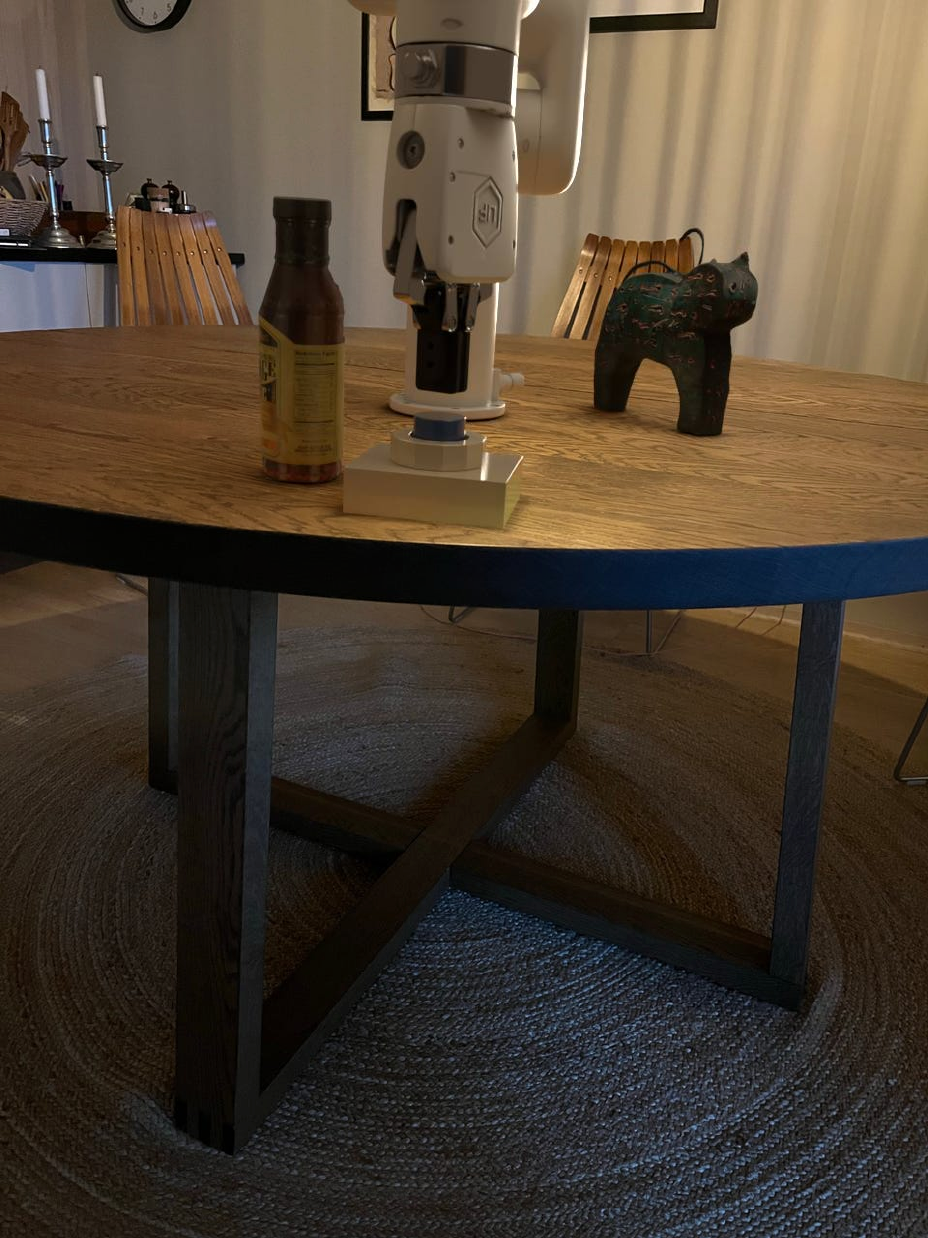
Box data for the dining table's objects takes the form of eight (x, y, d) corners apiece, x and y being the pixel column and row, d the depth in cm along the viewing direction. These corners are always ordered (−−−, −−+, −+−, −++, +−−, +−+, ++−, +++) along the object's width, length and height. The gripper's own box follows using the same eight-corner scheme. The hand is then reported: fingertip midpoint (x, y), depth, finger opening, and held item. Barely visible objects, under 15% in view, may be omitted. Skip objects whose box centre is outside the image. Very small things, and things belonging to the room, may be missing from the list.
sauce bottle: (265, 466, 79) (260, 195, 72) (344, 469, 80) (347, 200, 73) (256, 486, 73) (250, 192, 66) (342, 488, 74) (345, 198, 67)
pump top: (419, 434, 71) (420, 409, 71) (468, 438, 71) (470, 413, 70) (407, 443, 68) (408, 417, 67) (459, 447, 67) (460, 422, 67)
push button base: (377, 483, 76) (378, 418, 74) (520, 498, 74) (525, 431, 72) (342, 513, 68) (343, 439, 66) (503, 529, 66) (508, 455, 64)
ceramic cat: (741, 437, 104) (773, 231, 96) (695, 440, 100) (725, 227, 93) (617, 405, 119) (637, 226, 112) (575, 407, 116) (592, 222, 109)
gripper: (444, 65, 54) (429, 409, 60) (561, 105, 66) (538, 387, 72) (332, 69, 57) (329, 394, 63) (463, 106, 69) (450, 376, 76)
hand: (441, 390), depth 68 cm, fingers closed
